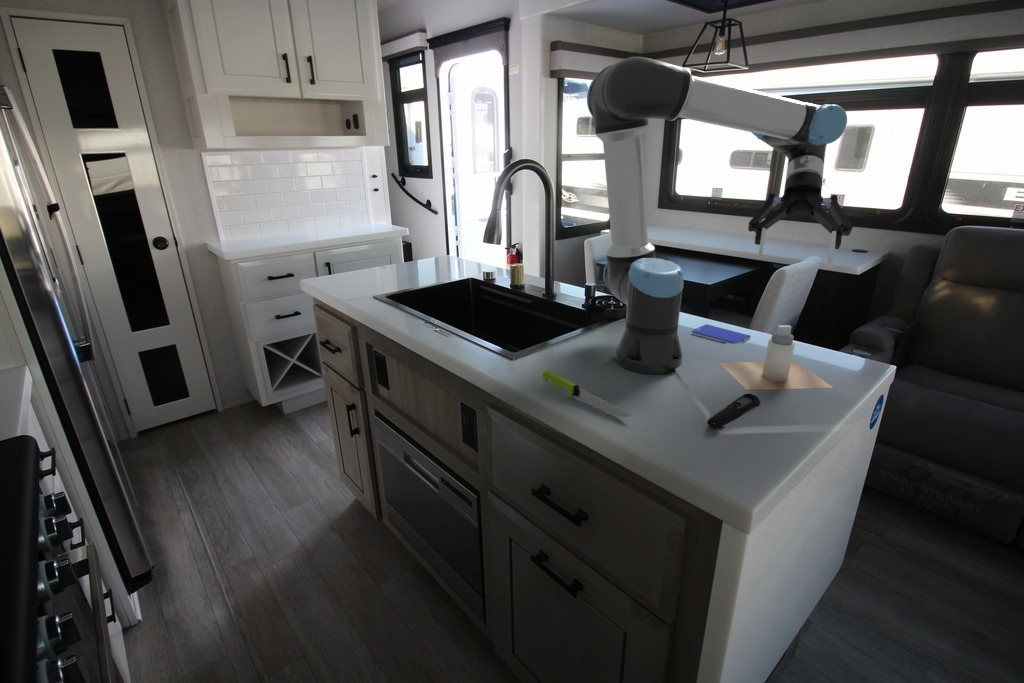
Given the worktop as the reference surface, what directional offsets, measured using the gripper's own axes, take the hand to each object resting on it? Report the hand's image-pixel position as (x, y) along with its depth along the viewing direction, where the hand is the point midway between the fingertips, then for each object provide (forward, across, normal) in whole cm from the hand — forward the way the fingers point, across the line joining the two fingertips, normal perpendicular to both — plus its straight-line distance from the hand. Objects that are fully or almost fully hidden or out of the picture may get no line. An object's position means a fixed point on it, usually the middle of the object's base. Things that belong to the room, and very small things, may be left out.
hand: (794, 257), depth 111 cm
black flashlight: (+40, -7, -5) cm, 41 cm away
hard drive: (+8, -13, +27) cm, 31 cm away
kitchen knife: (+44, -34, -10) cm, 57 cm away
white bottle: (+25, 0, +8) cm, 26 cm away
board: (+25, -1, +10) cm, 27 cm away
